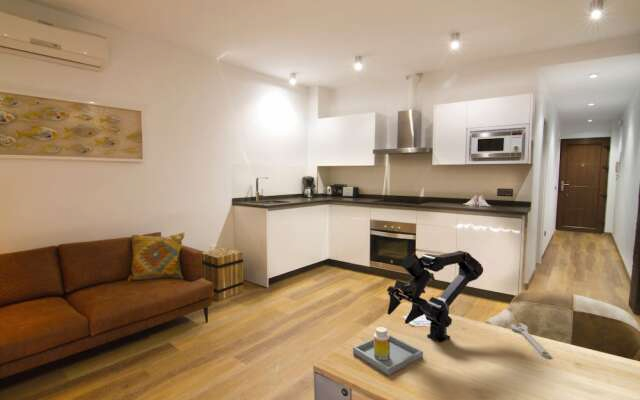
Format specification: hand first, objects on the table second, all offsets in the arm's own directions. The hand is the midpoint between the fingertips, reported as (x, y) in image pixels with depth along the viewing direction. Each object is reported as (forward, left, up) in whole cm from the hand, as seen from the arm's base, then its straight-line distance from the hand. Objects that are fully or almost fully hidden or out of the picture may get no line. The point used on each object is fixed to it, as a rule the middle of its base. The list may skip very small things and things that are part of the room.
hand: (396, 318), depth 126 cm
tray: (+4, -1, -13) cm, 14 cm away
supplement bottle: (+7, -1, -13) cm, 15 cm away
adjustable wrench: (-47, +25, -14) cm, 55 cm away
